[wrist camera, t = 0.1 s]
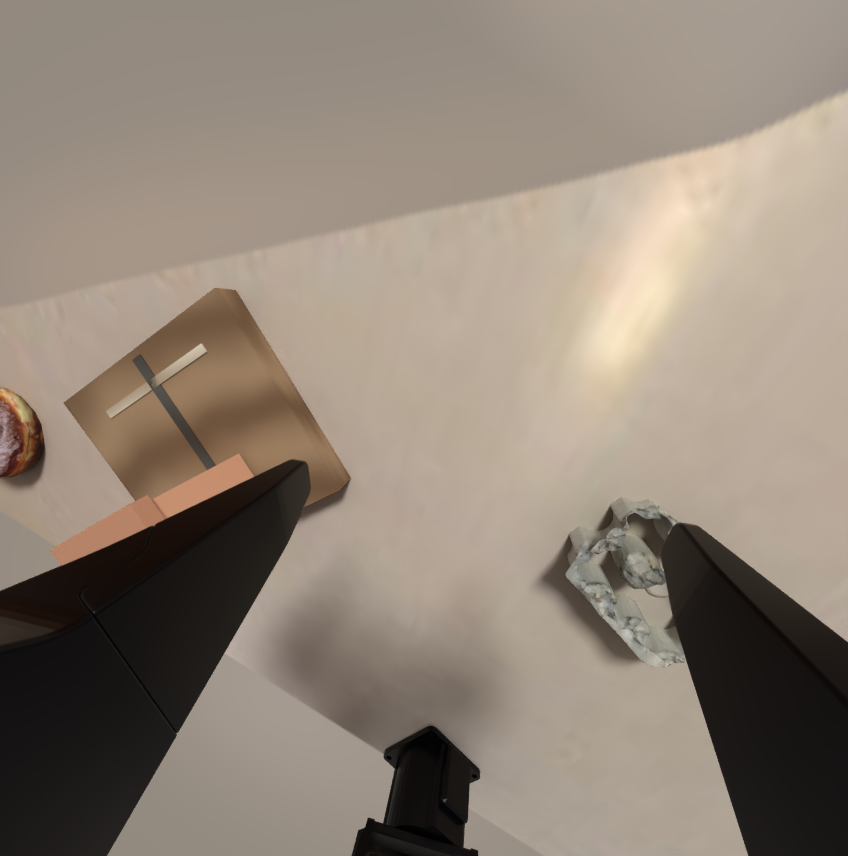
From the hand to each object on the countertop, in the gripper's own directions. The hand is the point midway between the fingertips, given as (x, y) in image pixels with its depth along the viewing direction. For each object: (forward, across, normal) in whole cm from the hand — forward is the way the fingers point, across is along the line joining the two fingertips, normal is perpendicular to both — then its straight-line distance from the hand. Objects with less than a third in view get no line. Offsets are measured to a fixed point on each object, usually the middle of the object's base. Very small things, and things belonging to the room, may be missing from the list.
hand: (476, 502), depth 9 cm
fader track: (+14, +20, +10) cm, 26 cm away
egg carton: (+13, -12, +14) cm, 23 cm away
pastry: (+13, +40, +12) cm, 44 cm away
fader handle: (+11, +18, +12) cm, 24 cm away
